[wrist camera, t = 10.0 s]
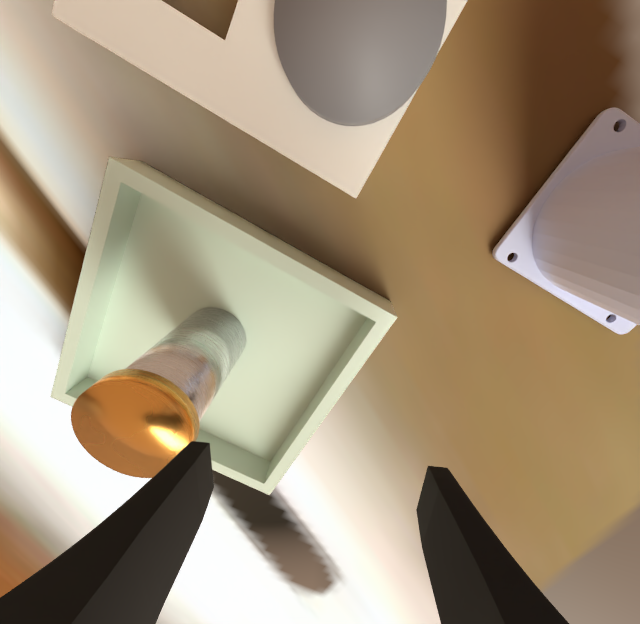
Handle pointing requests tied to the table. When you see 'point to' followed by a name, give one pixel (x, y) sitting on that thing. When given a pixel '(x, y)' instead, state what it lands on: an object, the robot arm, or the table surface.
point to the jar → (159, 395)
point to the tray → (225, 293)
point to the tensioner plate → (287, 68)
